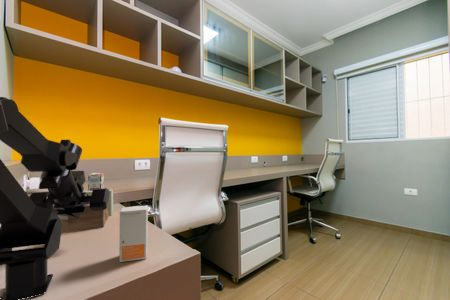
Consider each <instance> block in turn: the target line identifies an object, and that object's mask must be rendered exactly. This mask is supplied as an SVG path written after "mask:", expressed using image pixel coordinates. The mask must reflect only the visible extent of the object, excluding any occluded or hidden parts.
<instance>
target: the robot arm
mask: <svg viewBox="0 0 450 300" xmlns="http://www.w3.org/2000/svg"><path fill="white" fill-rule="evenodd" d="M0 142H1V143H3V144H5V145H6V146H8V147H10V148H11V149H12V150H14V151H15V152H16V153H18V154H19V155H20V156H21V159H20V164H21V165H23V166H24V168H26V170H27V171H29V172H31V173H41V174H40V179H41V180H40V182H39V185H38V189H39V190H45V191H35V192H31V194H30V195H28V193H27V192H26V190H25V189H24V188H23V187H22V185H21V184H20V183H19V182H18V180H17V179H16V178H15V176H14V175H13V174H12V173H11V171H10V170H9V168H8V167H7V165H6V164H5V163H4V161H2V159H1V158H0V266H3V265H4V266H5V267H4V268H5V272H4V273H5V278H4V279H5V289H4V291H3V293H2V294H1V295H0V298H1V299H0V300H18V299H22V298H27V297H31V296H35V295H39V294H43V293H44V292H46V293H47V291H48V289H49V287H50V285H51V281H52V279H53V278H52V277H54V274H53V273H50V274H48V260H49V259H50V258H51V257H53V255H54V254H55V253H56V252H58V250H59V249H60V246H61V238H62V232H63V230H62V229H63V220H61V219H59V216H58V215H62V216H68V217H73V218H79V216H80V213H83V212H84V211H85V208H86V205H90V210H93V211H97V210H105V209H106V208H107V205H108V200H109V195H110V192H109V190H110V189H108V188H107V187H106V188H105V187H104V188H102V189H93V191H92V195H91V196H88V194H87V193H86V192H83V191H85V190H84V189H85V187H84V184H85V182H86V181H87V180H86V175H85V171H84V170H76V169H77V167H78V165H79V162H80V160H81V156H82V153H83V148H82V147H81V146H79V145H78V144H76V143H74V142H72V141H71V139H61V140H60V142H58V141H54V140H49V139H48V138H46V137H45V135H43V134H42V133H41V132H40V131H39V130H38V129H37V128H36V127H35V125H33V123H31V121H29V119H27V117H25V115H24V114H22V113H21V112H20V110H19V107H18V104H17V103H16V101H15V100H13V99H11V98H10V99H9V98H7V97H4V96H0ZM46 190H48V191H46ZM42 245H43V246H42ZM34 246H40V247H34ZM41 246H42V247H41ZM25 247H30V248H25ZM31 247H33V248H31ZM16 248H24V249H16ZM13 249H14V250H13ZM15 249H16V250H15ZM43 295H44V294H43ZM39 296H40V295H39ZM35 297H36V296H35ZM31 298H32V297H31Z"/></svg>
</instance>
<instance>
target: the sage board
mask: <svg viewBox="0 0 450 300" xmlns="http://www.w3.org/2000/svg"><path fill="white" fill-rule="evenodd" d="M108 190H109V192H110V195H109V216H110V217H111V216H113V215H114V189H108ZM83 192H86V193H87V194H88V196H91V195H92V191H88V190H83ZM58 216H59V219H61V221H65V220H68V216H62V215H58Z"/></svg>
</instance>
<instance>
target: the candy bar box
mask: <svg viewBox="0 0 450 300" xmlns="http://www.w3.org/2000/svg"><path fill="white" fill-rule="evenodd" d="M104 176H105V172H92V173H89V174H88V176H87V177H88V178H87V179H88V180H87V181H88V182H87V185H88V186H87V187H88V188H87V191H93V189H102V188H105V182H104V181H105V179H104V178H105V177H104Z"/></svg>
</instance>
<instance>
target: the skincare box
mask: <svg viewBox="0 0 450 300" xmlns="http://www.w3.org/2000/svg"><path fill="white" fill-rule="evenodd" d="M148 212H149V206H148V205H135V206H134V205H133V206H124V207H122V208H121V209H120V211H119V263H123V262H124V263H125V262H132V261H139V260H146V259H147V255H148V251H149V250H148V247H149V245H148V243H149V242H148V240H149V239H148V238H149V237H148V234H149V233H148V230H149V229H148V226H149V225H148V224H149V223H148V219H149V217H148V216H149V213H148ZM145 258H146V259H145Z"/></svg>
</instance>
